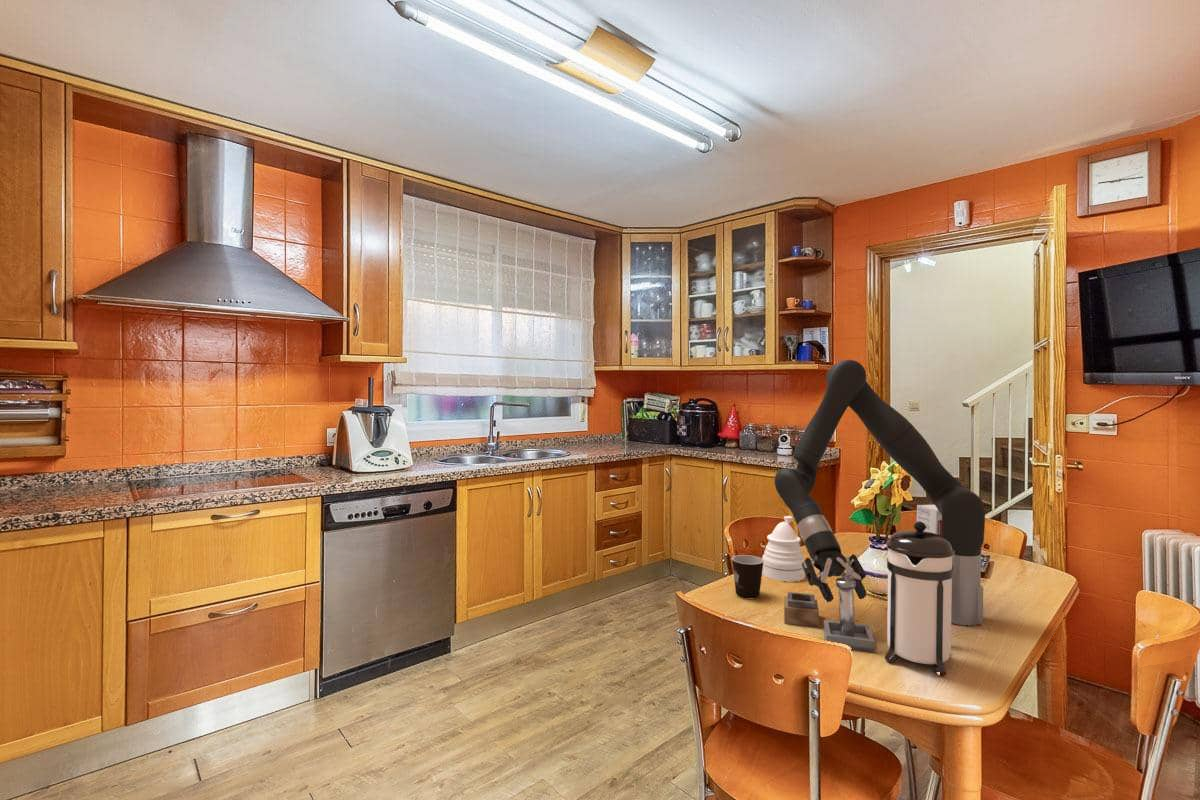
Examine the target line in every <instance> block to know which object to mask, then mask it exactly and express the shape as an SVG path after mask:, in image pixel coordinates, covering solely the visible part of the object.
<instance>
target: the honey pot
mask: <svg viewBox="0 0 1200 800" xmlns="http://www.w3.org/2000/svg"><path fill="white" fill-rule="evenodd" d="M783 519H784V521H781V522H779V523H778V524H777V525H776V526H775V527H774V529H773V531H772V532H771V533H770V534H768V535H767V537H766V539H767V540H768V543H767V545H765V550H764V551H763V552H764V553H763V555H762V557H761V558H762V559H763V560H764V562H763V570H762V573H763V574H764V575H765V576H766V577H768V578H771V579H774V580H773V581H775V580H779V581H778V582H781V581H786V582H785V583H795V582H794V581H798V582H801V581H800V580H802V581H804V580H805V579H806V575H805V572H804V569H803V566H802V563H803V561H804V560H805V559H806V558H805V557H804V553H803V552H802V551H803V549H802V547H801V545H800V542H801V540H802V538H800V536H798V535H797V534H796V533H795V531H794V529H793V527H792V526H791V525H790V524H791V522H792V521H793V519H794V517H793V516H791V515H787V516H785V515H784V516H783ZM763 574H762V575H763ZM765 576H764V577H765ZM766 577H765V578H766ZM768 578H767V579H768ZM804 578H805V579H804ZM771 579H770V580H771ZM803 579H804V580H803ZM787 581H788V582H787Z"/></svg>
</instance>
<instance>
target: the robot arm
mask: <svg viewBox="0 0 1200 800" xmlns="http://www.w3.org/2000/svg"><path fill="white" fill-rule="evenodd" d="M825 378H826V379H825V380H826V385H827V386H826V389H825V393H824V395H823V398H822V399H821V400H822V401H820V404H819V406H818V407H817V410H816V411H815V413H814V415H813V416H812V418H811V419H810V421H809V422H808V424H807V425H806V428H805V429H804V431H803V432H802V434H801V436H800V438H799V441H798V442H797V444H796V447H795V448H794V450H793V453H792V456H793V459H794V460H795V461H796V462H797V463H796V469H793V468H789V467H784V468H781V469H779V470H778V471H777V472H776V474H775V476H774V486H775V489H776V491H777V493H778V496H779V497H780V498H781V499H782V501H783V502H784V504H785V506H786V507H787V508H788V509H789V511H790V512H791V514H792V517H793V519H794V521H795V523H796V525H797V529H798V530H799V531H798V532H799V535H800V537H801V540H802V541H803V544H804V546H805V549H806V550H807V554H808V555H809V557H806V558H804V559H805V560H804V561H803V563H802V566H803V569H804V572H805V578H806V580H807V582H808V585H810V586H816V587H817V588H818V589H819V591H820V594H821V596H822V597H823V600H825V601H826V602H827V603H831V602H832V601H833V600H834V595H833V593H832V590H831V588H830V587H829V584H828V583H827V578H832V577H841V578H851V579H853V580H855V582H856V587H855V588H853V590H854V591H855V594H856V596H857V597H858V599H859V600H863V599H864V598H865V597H867V593H868V592H867V589H866V588H865V587H864V584H863V580H864V579H865V578H866V577H867V576H868V575H867V573H866V571H865V570H864V568H863V566H862V564H861V562H860V561H859V559H858V557H857V556H856V554H854V553H853V554H851V555H850V556H845V555H843V553H842V550H841V549H842V548H841V545H840V544H839V542H838V541H839V540H838V539H837V538H836V536H835V533H834V532H833V530H832V528H831V526H830V523H829V522H828V520H827V519H826V516H825V515H824V513H823V511H822V508H821V507H820V505H819V504H818V501H817V500H815V499H814V498H813V497H812V496H810V493H811V492H812V490H813V489H814V486H815V483H816V478H817V474H818V469H819V464H820V462H821V460H822V459H823V457H824V454H825V452H826V450H827V448H828V446H829V444H830V442H831V440H832V438H833V436H834V433H835V431H836V430H837V428H838V424H839V423H840V421H841V419H842V417H843V416H844V414H845V412H846V410H847V409H848V407H849V408H850V409H851V410H852V412H854V413H855V414H856V416H858V418H859V419H860V420H861V422H862V423H863V424H864V426H865V427H866V429H867V430H868V431H869V433H870V434H871V435H872V436H873V438H874V439H875V440H876V441H877V442H878V444H879V446H881V448H882V449H883V450H884V451H885V452H886V453H887V455H888V456H889V457H890V458H891V459H892V460H893V461H894V462H895V463H896V464H898V466H899V467H901V468H902V469H903V470H904V471H905V472H906V473H907V474H908V475H910V476H911V477H912V478H913V479H914V480H915V481H916V482H917V483H918V484H919V485H920V487H921V488H922V489H923V491H925V494H926V495H927V496H928V497H929V498H930V500H931V502H932V503H933V505H935V506H936V507H937V509H938V511H939V512H940V513H941V515H942V527H941V536H942V537H944V538H946V539H947V540H948V541H949V542H950V544H951V546H952V548H954V550H955V553H954V556H953V557H952V566H953V577H952V603H951V624H955V625H959V626H966V625H968V626H970V625H973V626H977V624H981V625H980V626H983V625H984V624H983V623H984V586H983V585H982V584H981V578H982V577H981V576H982V575H981V574H982V573H981V572H982V570H981V569H982V567H981V566H982V546H983V544H984V541H985V527H986V525H985V524H986V509H985V504H984V502H983V500H982V499H981V497H980V496H979V495H978V494H976V493H975V492H973V491H971V490H970V489H969V488H967V487H966V486H965V485H963V484H962V483H961V482H960V481H958V480H957V479H956V477H954V476H953V475H952V474H951V473H950V472H949V471H948V470H947V469H946V468H945V466H944V465H942V463H941V461H940V459H938V457H937V456H936V454H935V452H934V450H933V448H932V447H931V446H930V443H928V442H927V441H926V439H925V438H924V437H923V435H922V434H921V433H920V432H919V431H918V429H917V428H916V427H915V426H914V425H913V424H912V423H911V422H910V421H909V420H908V419H907V418H906V417H905V416H903V414H901V413H900V412H899V411H897V410H896V409H895V408H893V406H891V405H889V403H887V402H886V401H884V400H883V399H882V398H881V397H880V396H879V395H878V394H877V393H876V392H875V391H874V389H873V388H872V386H871V385H870V384H869V383H868V382H867V372H866V369H865V367H864V366H863V365H862V364H861V363H860V362H859V361H857V360H854V359H844V360H840V361H838V362H836V363H834V365H832V366H831V367H830V368H829V369H828V371H827V373H826V377H825ZM815 568H816V569H817V570H818V575H817V573H816V571H815ZM845 570H846V572H845Z"/></svg>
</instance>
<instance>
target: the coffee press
mask: <svg viewBox="0 0 1200 800" xmlns="http://www.w3.org/2000/svg"><path fill="white" fill-rule="evenodd" d="M913 528H914V529H905V530H899V531H896V532H894V533H892V534H891V535H890V536H889V539H888V540H887V541H886V545H885V546H886V548H887V550H888V551H887V552H888V553H887V557H886V568H887V615H886V616H887V617H886V618H887V620H886V621H887V622H886V623H887V625H886V627H887V628H886V629H887V630H886V631H887V633H886V634H887V635H886V638H887V640H886V641H887V646H888V650H887V652H886V654H885V656H884V659H885V661H886V662H888V663H889V664H891V663H892V664H894V663H895V662H896V661H897V660H898V659H900V658H902V659H904V660H907V661H910V662H914V663H917V664H922V665H923V664H924V665H930V666H931V667H932V668H933V670H934V672H935V673H936V672H940V675H942V676H947V669H946V667H945V665H944V663H945V662H947V661H948V660H949V659H950V658H951V656H952V653H951V651H952V645H951V644H952V641H951V640H952V623H951V603H952V577H953V566H952V557H953V556H954V553H955V550H954V548H952V546H951V544H950V542H949V541H948V540H947V539H946V538H944V537H942V536H940V535H938V534H934V533H931V532H925V531H924V530H925V529H926V526H925V524H924V523H923V522H920V521H919V522H917V521H916V522H915V523H914V524H913Z"/></svg>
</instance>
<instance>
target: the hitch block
mask: <svg viewBox="0 0 1200 800" xmlns="http://www.w3.org/2000/svg"><path fill="white" fill-rule="evenodd" d="M783 599H784V601H783V602H784V604H783V605H784V608H783V609H784V611H783V613H784V615H783V617H784V618H783V619H784V624H786V625H793V626H794V625H796V626H805V627H811V628H820V610H819V603H818V599H815V594H812V593H805V592H804V593H802V592H793V591H787V595H785V596H784V597H783Z"/></svg>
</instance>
